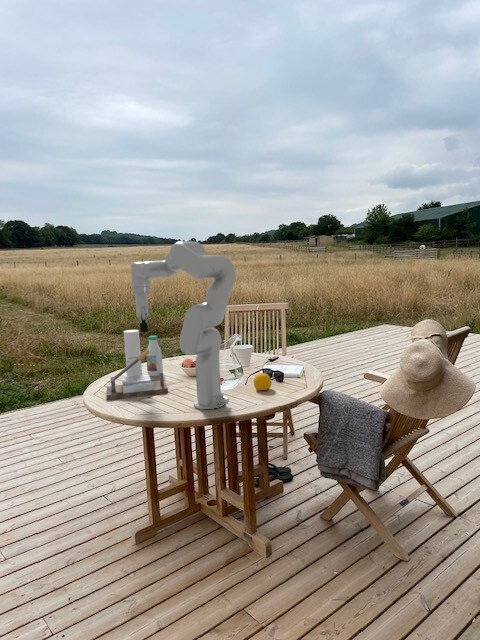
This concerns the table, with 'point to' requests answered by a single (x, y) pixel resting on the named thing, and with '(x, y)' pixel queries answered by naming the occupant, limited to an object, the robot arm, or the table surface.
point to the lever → (132, 364)
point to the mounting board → (119, 392)
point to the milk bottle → (154, 357)
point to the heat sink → (136, 383)
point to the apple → (262, 381)
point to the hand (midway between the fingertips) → (144, 331)
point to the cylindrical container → (132, 352)
